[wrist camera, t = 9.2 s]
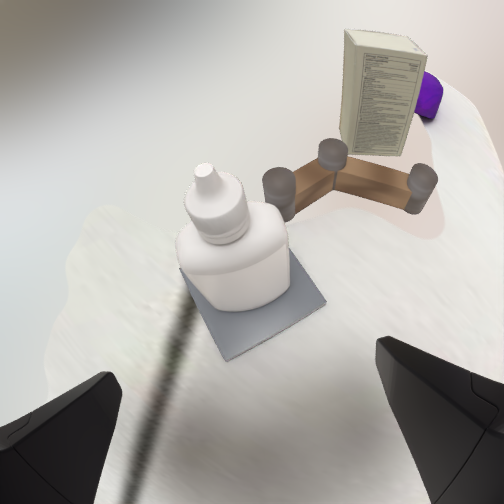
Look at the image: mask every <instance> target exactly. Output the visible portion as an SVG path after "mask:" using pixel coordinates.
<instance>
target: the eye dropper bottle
mask: <svg viewBox="0 0 504 504" xmlns="http://www.w3.org/2000/svg"><path fill="white" fill-rule="evenodd" d="M194 175H195V181H194V182H193V183H192V184H191V185H190V187H189V188H188V189H187V191H186V194H185V197H184V206H185V209H186V211H187V213H188V214H189V216H190V218H191V221H190V222H189V223H188V224H186V226H184V227H183V228H182V229H181V230H180V231H179V233H178V234H177V236H176V240H175V245H176V253H177V258H178V263H179V265H180V267H181V269H182V270H183V272H184V273H185V274H186V276H187V277H188V278H189V280H190V281H191V282H192V283H193V284H194V285H195V287H196V288H197V289H198V290H199V291H200V292H201V293H202V295H203V296H204V297H205V298H206V299H207V300H208V301H209V302H210V304H211V305H212V306H213V307H214V308H216V309H218V310H221V311H228V312H239V311H247V310H252V309H256V308H259V307H261V306H264V305H266V304H268V303H270V302H272V301H273V300H275V299H276V298H278V297H279V296H281V295H282V294H283V293H284V292H285V291H286V290H287V289H288V287H289V286H290V265H289V241H288V232H287V229H286V225H285V223H284V220H283V218H282V216H281V214H280V212H279V210H278V209H277V208H276V207H275V206H274V205H272V204H269V203H264V202H256V201H246V197H245V192H244V188H243V185H242V183H241V182H240V180H239V179H237V178H236V177H235V176H234V175H232V174H229V173H225V172H216V170H215V169H214V167H213V166H212V165H211V164H210V163H202V164H200V165H198V166H197V167H196V168H195V170H194Z"/></svg>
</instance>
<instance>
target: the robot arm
mask: <svg viewBox="0 0 504 504" xmlns="http://www.w3.org/2000/svg"><path fill="white" fill-rule="evenodd" d="M375 360H376V366H377V369H378V372H379V375H380V378H381V381H382V384H383V387H384V390H385V393H386V396H387V399H388V402H389V405H390V407H391V409H392V411H393V414H394V416H395V418H396V420H397V422H398V424H399V427H400V429H401V431H402V433H403V436H404V438H405V440H406V442H407V445H408V447H409V449H410V452H411V454H412V456H413V459H414V461H415V464H416V466H417V468H418V471H419V473H420V476H421V478H422V481H423V483H424V486H425V488H426V491H427V493H428V496H429V499H430V501H431V504H504V384H502V383H499V382H496V381H493V380H491V379H488V378H486V377H483V376H480V375H478V374H476V373H473V372H471V373H470V371H468V370H466V369H464V368H461V367H459V366H457V365H454V364H452V363H450V362H447V361H445V360H443V359H441V358H438V357H436V356H434V355H431V354H429V353H427V352H425V351H422V350H420V349H418V348H416V347H413V346H411V345H409V344H407V343H404V342H402V341H400V340H398V339H395V338H393V337H391V336H385V337H382V338H378V339H377V341H376V358H375ZM121 398H122V389H121V387H120V385H119V383H118V381H117V379H116V377H115V376H114V374H113V373H112V372H105V371H103V372H100V373H98V374H97V375H95V376H93V377H92V378H90V379H88V380H86V381H85V382H83V383H81V384H80V385H78V386H76V387H74V388H73V389H71V390H69V391H67V392H66V393H64V394H62V395H60V396H59V397H57V398H55V399H53V400H52V401H50V402H48V403H46V404H45V405H43V406H41V407H39V408H38V409H36V410H34V411H33V412H30V413H28V414H27V415H25V416H23V417H21V418H19V419H17V420H15V421H13V422H11V423H9V424H7V425H4V426H2V427H0V504H94V500H95V496H96V492H97V488H98V484H99V481H100V477H101V473H102V470H103V466H104V463H105V459H106V456H107V452H108V449H109V446H110V443H111V439H112V436H113V433H114V430H115V426H116V421H117V417H118V412H119V407H120V403H121Z"/></svg>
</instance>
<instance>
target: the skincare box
mask: <svg viewBox="0 0 504 504" xmlns="http://www.w3.org/2000/svg"><path fill="white" fill-rule="evenodd" d="M426 61H427V54H426V53H425V52H424V51H423V50H422V49H421V48H419V46H418V45H417V44H416V43H414V42H413V41H412V40H411V39H410V38H409V37H407V36H402V35H397V34H391V33H383V32H375V31H367V30H355V29H345V30H344V64H343V86H342V102H341V114H340V126H339V129H340V134H341V138H342V142H344V143H345V144H346V145H347V147H348V154H352V155H379V156H400V155H401V153H402V150H403V147H404V144H405V141H406V138H407V135H408V131H409V128H410V124H411V121H412V118H413V114H414V110H415V107H416V103H417V99H418V96H419V92H420V87H421V83H422V79H423V75H424V70H425V66H426Z"/></svg>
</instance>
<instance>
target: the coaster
mask: <svg viewBox="0 0 504 504" xmlns="http://www.w3.org/2000/svg"><path fill="white" fill-rule="evenodd" d="M289 265H290V286H289V287H288V289H287V290H286V291H285V292H284V293H283V294H282V295H281V296H279V297H278V298H276V299H275V300H273V301H272V302H270V303H268V304H266V305H264V306H261V307H259V308H256V309H252V310H247V311H239V312H228V311H221V310H218V309H216V308H214V307H213V306H212V305H211V304H210V302H209V301H208V300H207V299H206V298H205V297H204V296H203V295H202V293H201V292H200V291H199V290H198V289H197V288H196V287H195V285H194V284H193V283H192V282H191V281H190V280H189V278H188V277H187V276H186V274H185V273H184V272H183V270H182V269H181V268H179V269H180V271H181V273H182V276H183V278H184V280H185V282H186V284H187V286H188V288H189V291H190V293H191V295H192V297H193V299H194V301H195V303H196V305H197V307H198V309H199V311H200V313H201V315H202V317H203V319H204V321H205V323H206V325H207V327H208V329H209V331H210V333H211V335H212V337H213V339H214V341H215V343H216V345H217V347H218V349H219V351H220V352H221V354H222V356H223V358H224V360H225V361H226V362H227V361H229V360H231V359H233V358H235V357H237V356H239V355H241V354H242V353H244V352H246V351H248V350H250V349H251V348H253V347H255V346H257V345H259V344H260V343H262V342H264V341H266V340H267V339H269V338H271V337H273V336H274V335H276V334H278V333H280V332H281V331H283V330H285V329H286V328H288V327H290V326H291V325H293V324H295V323H296V322H298V321H300V320H301V319H303V318H305V317H306V316H308V315H309V314H311V313H313V312H314V311H316V310H317V309H319V308H321V307H322V306H324V305H325V304H326V302H327V301H326V300H325V298H324V297H323V296H322V294H321V293H320V291H319V290H318V288H317V287H316V285H315V284H314V283H313V281H312V280H311V278H310V277H309V275H308V274H307V272H306V271H305V270H304V268H303V267H302V265H301V264H300V263H299V261H298V260H297V258H296V257H295V255H294V254H293V253H292V251H291V250H290V248H289Z"/></svg>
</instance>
